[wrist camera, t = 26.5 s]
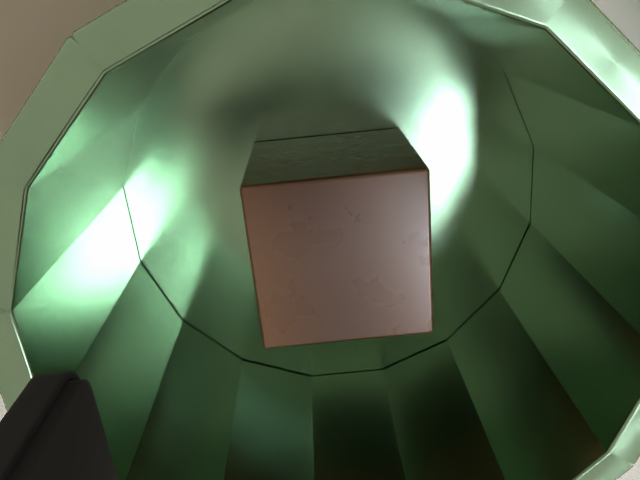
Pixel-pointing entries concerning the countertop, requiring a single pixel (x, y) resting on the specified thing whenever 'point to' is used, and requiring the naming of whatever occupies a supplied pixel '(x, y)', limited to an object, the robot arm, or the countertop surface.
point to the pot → (234, 260)
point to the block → (339, 237)
